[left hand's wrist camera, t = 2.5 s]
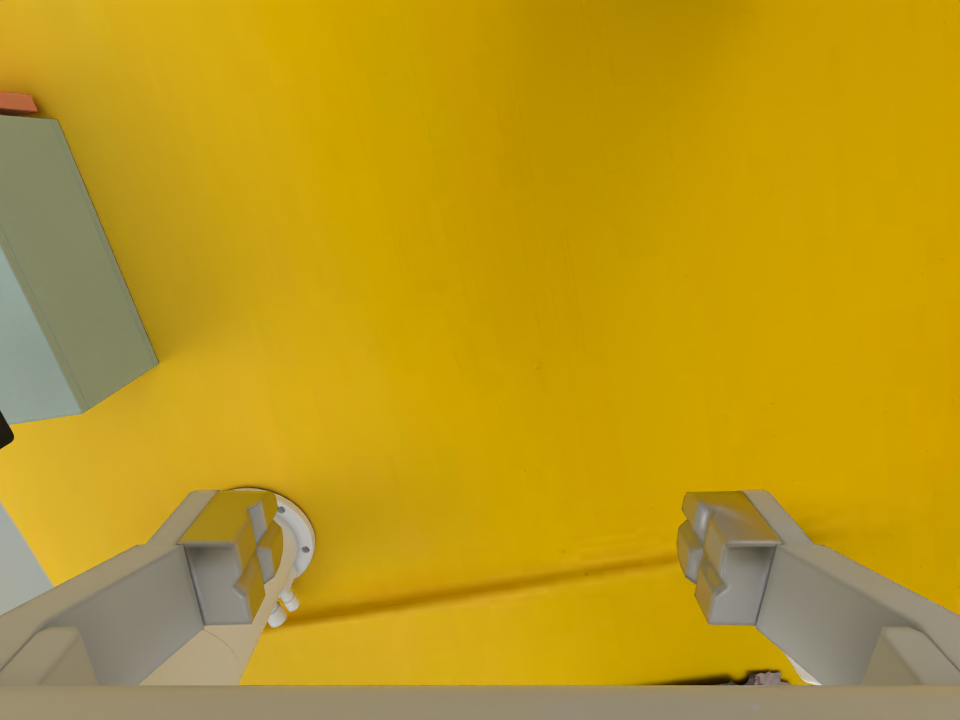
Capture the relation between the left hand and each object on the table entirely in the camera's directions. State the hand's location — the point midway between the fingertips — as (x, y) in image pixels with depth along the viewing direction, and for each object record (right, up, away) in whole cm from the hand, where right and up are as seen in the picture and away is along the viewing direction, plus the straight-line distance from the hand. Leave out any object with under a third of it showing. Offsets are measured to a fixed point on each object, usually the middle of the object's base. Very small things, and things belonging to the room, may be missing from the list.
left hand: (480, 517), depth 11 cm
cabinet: (-35, +12, +35) cm, 52 cm away
